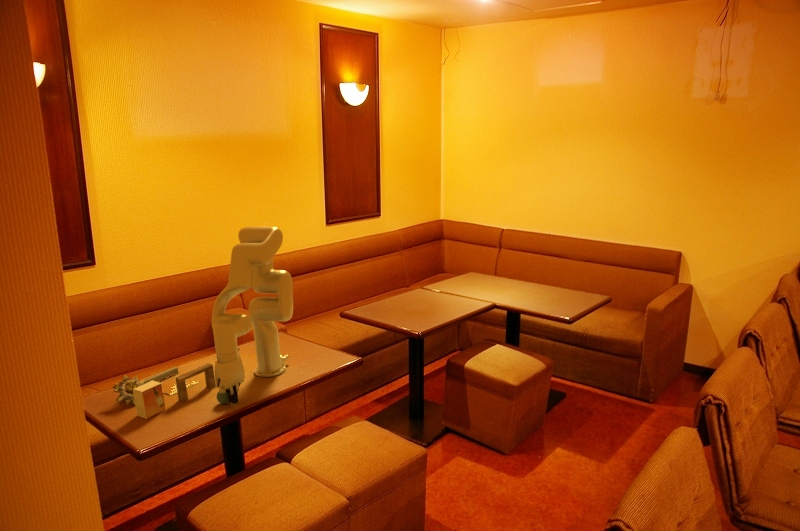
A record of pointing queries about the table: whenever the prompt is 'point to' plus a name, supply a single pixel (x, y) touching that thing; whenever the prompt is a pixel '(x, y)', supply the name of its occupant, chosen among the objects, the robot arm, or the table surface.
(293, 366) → the table surface
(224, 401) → the ball
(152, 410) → the small box
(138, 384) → the passion flower
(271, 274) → the robot arm
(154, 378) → the grey square bar
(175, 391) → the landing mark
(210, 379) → the bridge
